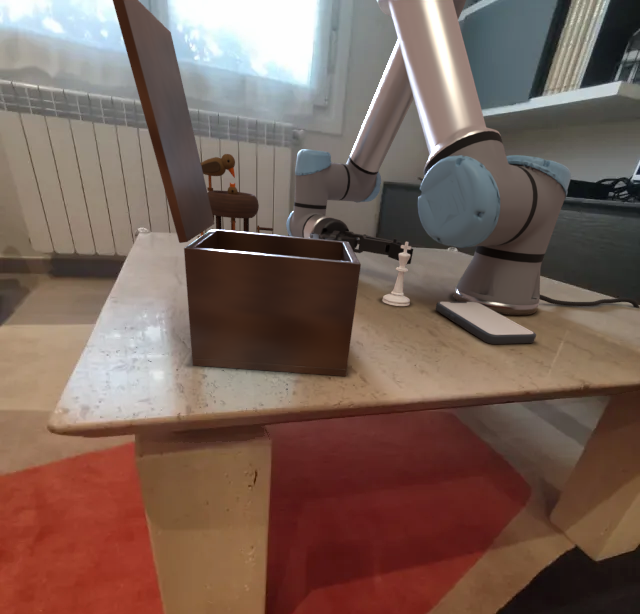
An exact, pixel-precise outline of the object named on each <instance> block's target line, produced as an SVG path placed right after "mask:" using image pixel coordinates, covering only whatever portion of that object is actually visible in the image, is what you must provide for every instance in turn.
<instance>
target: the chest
mask: <svg viewBox="0 0 640 614" xmlns="http://www.w3.org/2000/svg"><path fill="white" fill-rule="evenodd" d="M200 236H201V235H200ZM183 253H184V267H185V281H186V294H187V306H188V308H187V309H188V321H189V335H190V348H191V349H190V350H191V363H192V366H199V367H209V368H211V367H212V368H227V369H238V370H251V371H252V370H253V371H268V372H282V373H296V374H311V375H323V376H324V375H325V376H335V377H336V376H337V377H338V376H339V377H346V376H347V370H348V363H349V356H350V348H351V347H350V346H351V340H352V333H353V325H354V317H355V312H356V311H355V310H356V302H357V298H358V297H357V295H358V288H359V282H360V274H361V266H362V263H361V262H360V260H359V258H358V256H357V255H356V252H354V251H353V249H352V248H351V246H350V244H349V242H345V241H334V240H324V239H313V238H303V237H292V236H289V235H279V234H269V233H261V232H260V233H257V232H250V231H249V232H244V231H239V230H235V231H231V230H228V229H222V230H218V229H216V228H213V229H212V228H211V229H210V230H208V231H207V232H206V233H204V235H202V236H201V237H200V238H198V239H197V238H196V239H195V240H194V241H192V242H191V243H189V244H188V245H185V246H184V247H183Z"/></svg>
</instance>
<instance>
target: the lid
mask: <svg viewBox="0 0 640 614" xmlns="http://www.w3.org/2000/svg"><path fill="white" fill-rule="evenodd" d="M112 3H113V8H114V10H115V15H116V18H117V21H118V25H119V29H120V32H121V37H122V39H123V43H124V47H125V50H126V54H127V57H128V62H129V65H130V68H131V69H130V70H131V72H132V76H133V79H134V84H135V87H136V90H137V94H138V97H139V102H140V105H141V109H142V112H143V116H144V121H145V123H146V127H147V132H148V135H149V138H150V142H151V146H152V149H153V152H154V156H155V160H156V164H157V167H158V171H159V174H160V178H161V182H162V185H163V189H164V192H165V196H166V200H167V204H168V207H169V211H170V215H171V217H172V221H173V226H174V229H175V232H176V236H177V240H178V243H179V244H182V243H189V241H191V240H193V239H194V238H195V237H198V236H200V235H201V233H202V232H203V233H204V232H205V231H206V230H208V229H209V228H211V227H213V226H214V225H215V218H214V219H213V215H212V210H211V206H210V202H209V197H208V190H207V184H206V180H205V174H203V171H202V167H201V163H202V161H201V159H200V153H199V150H198V149H199V148H198V146H197V140H196V137H195V131H194V128H193V127H194V126H193V124H192V119H191V115H190V110H189V106H188V102H187V98H186V93H185V88H184V83H183V80H182V75H181V71H180V66H179V63H178V62H179V61H178V58H177V54H176V49H175V45H174V41H173V36H172V32H171V30H170V29H168V28H167V27H166V26H165V25H164V23H162V22H161V21H160V20H159V19H158V18H157V17H156V16H155V15H154V14H153V13H152V12H151V11H150V10H149V9H148V8H147V7H146V6H145V5H144V4H143V3H142V2H141V1H139V0H112Z"/></svg>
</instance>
